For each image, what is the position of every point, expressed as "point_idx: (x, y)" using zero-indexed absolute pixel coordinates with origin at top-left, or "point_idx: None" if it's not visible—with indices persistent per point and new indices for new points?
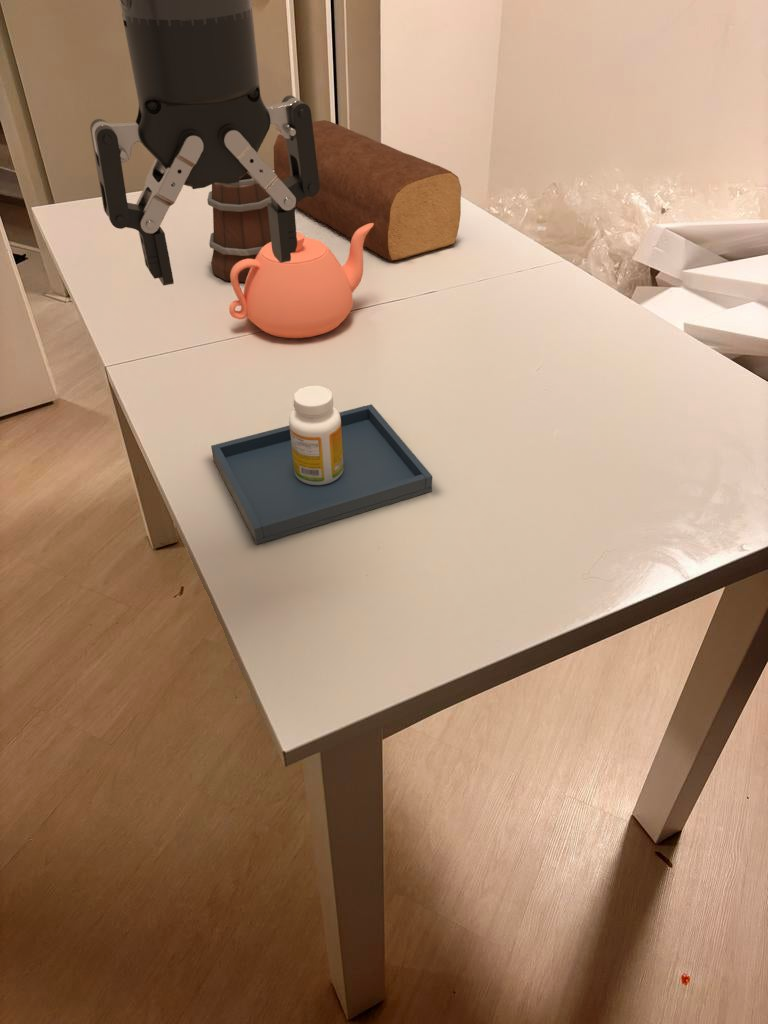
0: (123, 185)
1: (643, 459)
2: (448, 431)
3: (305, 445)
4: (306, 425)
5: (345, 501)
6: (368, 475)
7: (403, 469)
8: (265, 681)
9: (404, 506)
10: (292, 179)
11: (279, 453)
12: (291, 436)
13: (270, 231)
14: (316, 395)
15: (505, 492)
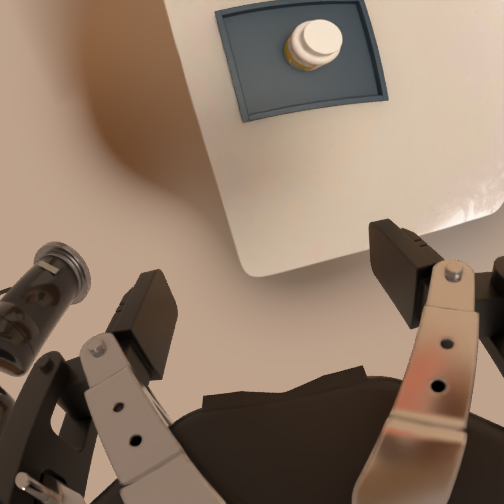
0: (88, 465)
1: (495, 127)
2: (409, 40)
3: (301, 61)
4: (308, 56)
5: (319, 107)
6: (342, 70)
7: (369, 72)
8: (239, 241)
9: (359, 109)
10: (489, 316)
11: (273, 21)
12: (290, 46)
13: (387, 238)
14: (326, 37)
15: (425, 120)
